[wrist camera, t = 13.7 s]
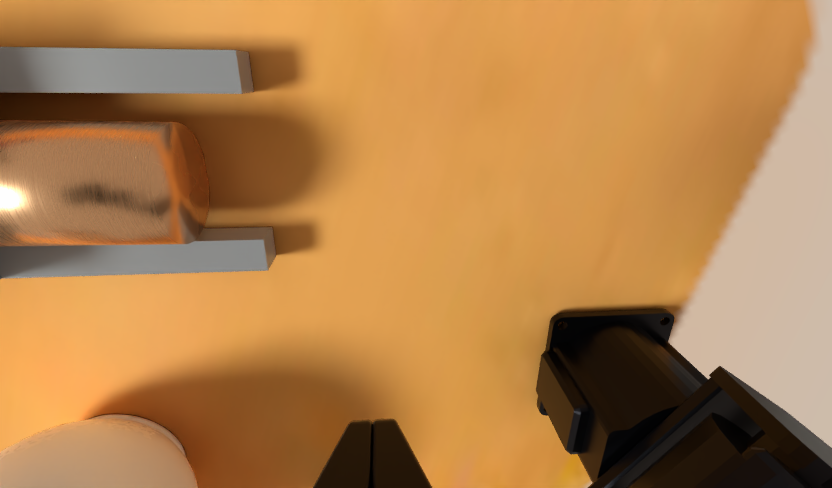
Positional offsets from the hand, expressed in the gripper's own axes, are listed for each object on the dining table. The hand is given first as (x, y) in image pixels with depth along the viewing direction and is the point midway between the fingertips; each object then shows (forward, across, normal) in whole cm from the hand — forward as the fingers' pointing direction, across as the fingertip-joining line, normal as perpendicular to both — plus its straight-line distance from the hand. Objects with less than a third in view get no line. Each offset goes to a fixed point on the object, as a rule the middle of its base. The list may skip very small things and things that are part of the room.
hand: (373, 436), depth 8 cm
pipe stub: (+12, +11, -1) cm, 16 cm away
